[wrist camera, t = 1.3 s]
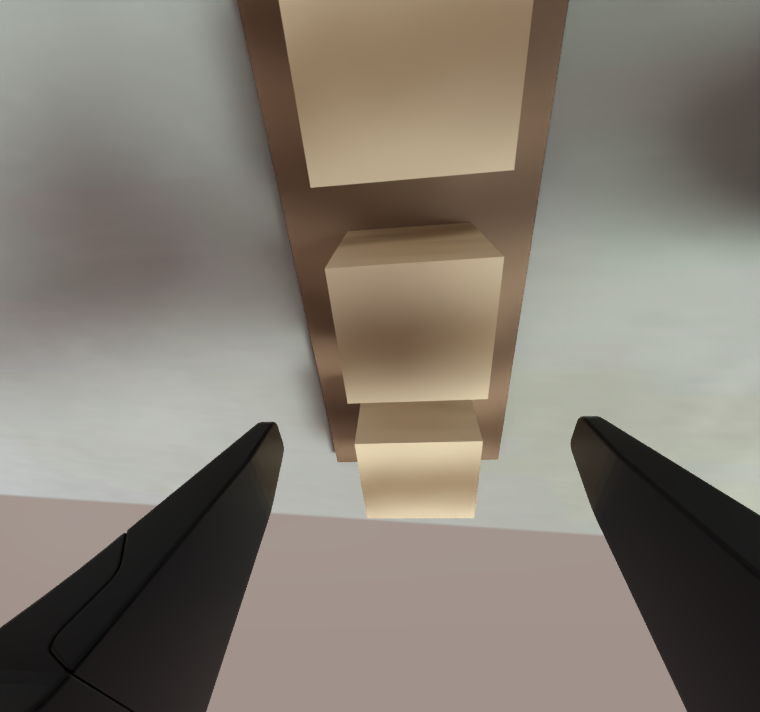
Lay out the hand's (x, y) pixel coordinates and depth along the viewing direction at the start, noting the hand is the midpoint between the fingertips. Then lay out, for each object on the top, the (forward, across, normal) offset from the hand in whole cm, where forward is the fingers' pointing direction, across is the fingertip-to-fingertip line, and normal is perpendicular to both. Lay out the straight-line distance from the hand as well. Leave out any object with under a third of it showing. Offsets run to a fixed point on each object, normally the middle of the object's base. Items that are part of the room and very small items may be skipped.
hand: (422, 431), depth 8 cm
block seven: (+11, 0, -8) cm, 14 cm away
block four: (+11, 0, +9) cm, 14 cm away
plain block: (+11, 0, 0) cm, 11 cm away
